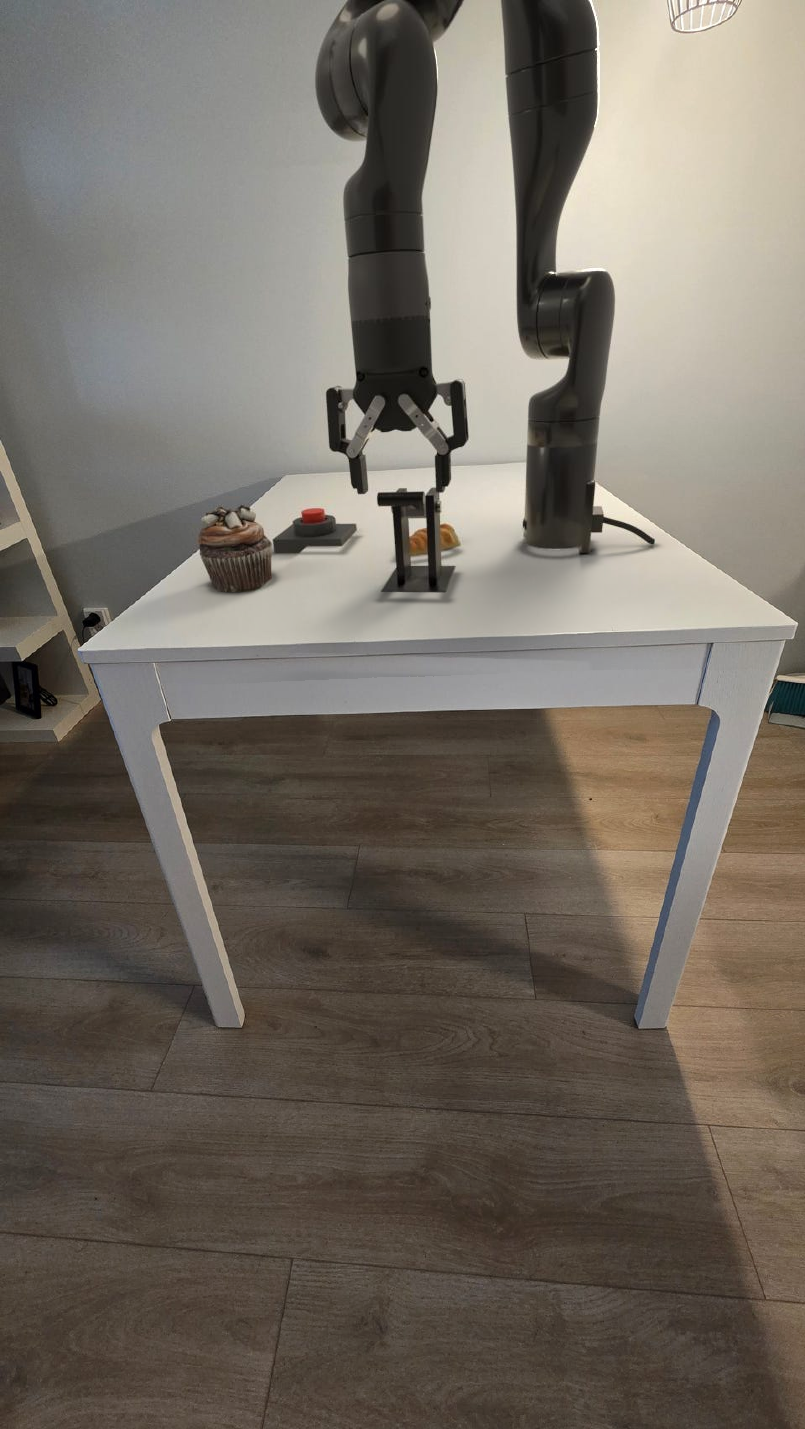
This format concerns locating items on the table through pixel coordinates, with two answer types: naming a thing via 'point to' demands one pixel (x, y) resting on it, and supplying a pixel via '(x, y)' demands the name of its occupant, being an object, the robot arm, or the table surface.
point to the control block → (312, 535)
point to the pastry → (420, 540)
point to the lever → (405, 502)
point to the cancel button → (313, 515)
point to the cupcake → (235, 550)
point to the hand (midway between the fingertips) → (401, 492)
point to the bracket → (434, 573)
